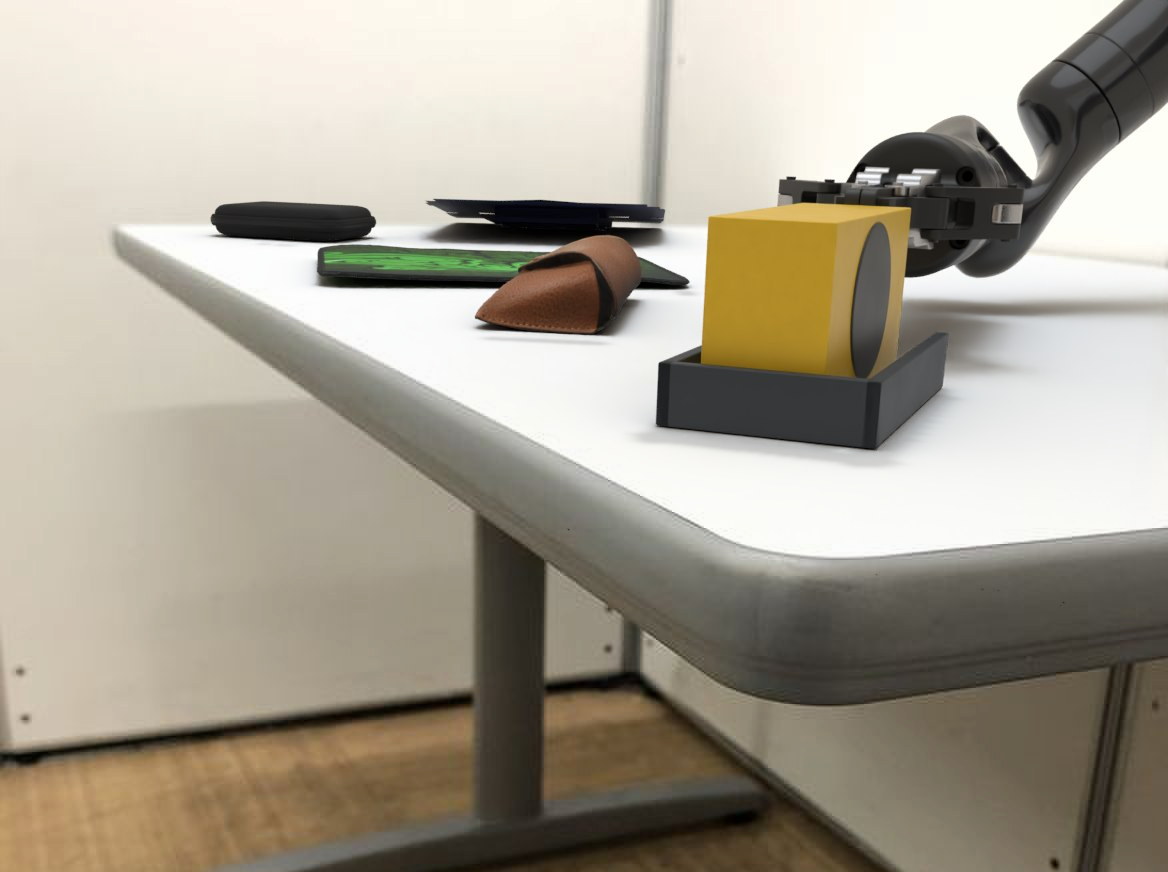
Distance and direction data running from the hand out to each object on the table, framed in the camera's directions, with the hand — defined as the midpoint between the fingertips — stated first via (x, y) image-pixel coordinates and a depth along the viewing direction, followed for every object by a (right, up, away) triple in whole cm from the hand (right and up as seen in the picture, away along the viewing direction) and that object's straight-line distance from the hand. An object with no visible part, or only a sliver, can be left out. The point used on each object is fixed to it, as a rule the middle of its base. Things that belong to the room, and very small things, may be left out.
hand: (857, 213), depth 64 cm
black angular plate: (-15, +21, +86) cm, 90 cm away
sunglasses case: (-13, 0, +24) cm, 28 cm away
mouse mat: (-19, +8, +47) cm, 51 cm away
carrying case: (-40, +18, +75) cm, 87 cm away
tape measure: (-3, -9, -3) cm, 10 cm away
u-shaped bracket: (-3, -9, -3) cm, 10 cm away
